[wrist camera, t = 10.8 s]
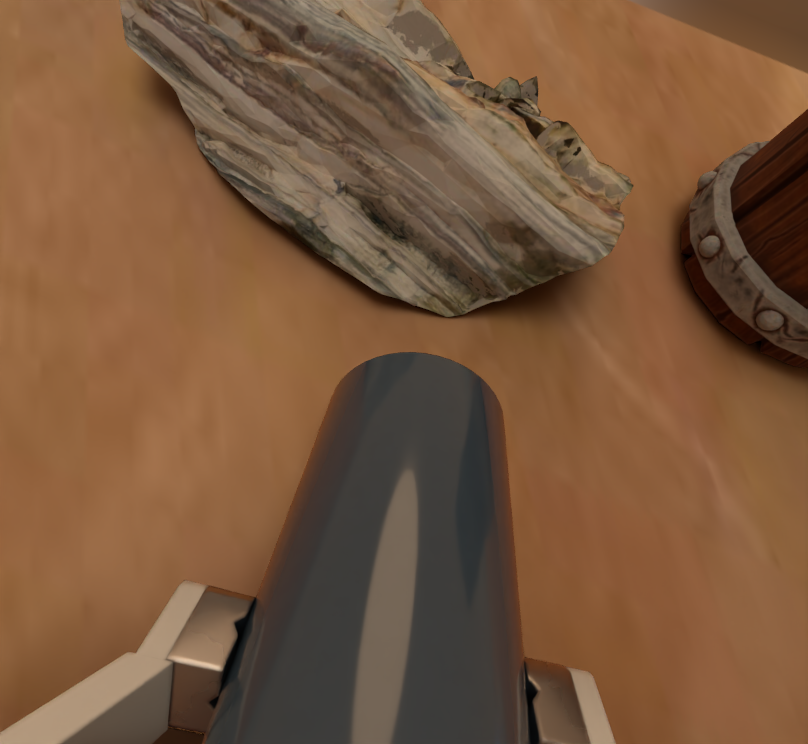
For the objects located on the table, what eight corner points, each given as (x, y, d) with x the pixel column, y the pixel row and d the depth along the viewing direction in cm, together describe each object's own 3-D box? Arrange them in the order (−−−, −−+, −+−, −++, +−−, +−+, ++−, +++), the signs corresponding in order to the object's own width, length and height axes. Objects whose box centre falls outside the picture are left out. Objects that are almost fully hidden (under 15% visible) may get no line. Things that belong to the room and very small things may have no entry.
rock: (457, 400, 21) (623, 192, 25) (521, 372, 15) (735, 95, 18) (70, 65, 21) (298, -95, 25) (-47, -121, 14) (291, -301, 18)
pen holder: (472, 496, 17) (473, 930, 9) (321, 460, 17) (178, 870, 9) (531, 378, 13) (622, 906, 5) (342, 330, 13) (140, 806, 5)
